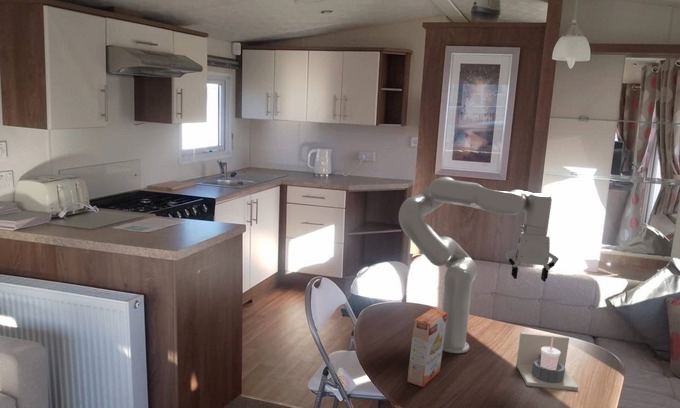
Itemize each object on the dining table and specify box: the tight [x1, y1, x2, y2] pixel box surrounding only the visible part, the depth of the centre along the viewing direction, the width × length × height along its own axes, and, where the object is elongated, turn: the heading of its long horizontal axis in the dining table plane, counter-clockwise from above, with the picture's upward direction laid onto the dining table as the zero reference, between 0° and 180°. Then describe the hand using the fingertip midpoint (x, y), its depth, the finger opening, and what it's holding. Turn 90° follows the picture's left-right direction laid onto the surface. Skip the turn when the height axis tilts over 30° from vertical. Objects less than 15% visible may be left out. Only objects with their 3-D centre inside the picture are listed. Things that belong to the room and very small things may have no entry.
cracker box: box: [406, 308, 447, 388], centre depth 184 cm, size 14×6×21 cm, turn 148°
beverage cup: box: [540, 335, 561, 370], centre depth 190 cm, size 6×6×14 cm
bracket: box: [515, 332, 579, 392], centre depth 191 cm, size 16×15×12 cm
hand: (528, 279), depth 197 cm, fingers open, 9 cm apart
